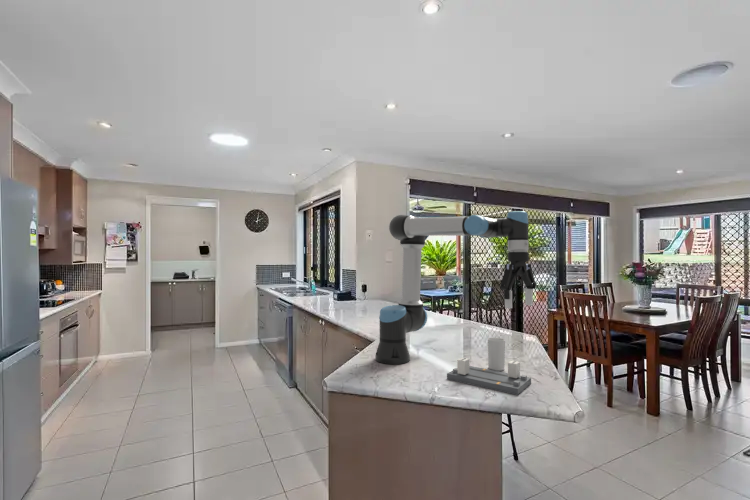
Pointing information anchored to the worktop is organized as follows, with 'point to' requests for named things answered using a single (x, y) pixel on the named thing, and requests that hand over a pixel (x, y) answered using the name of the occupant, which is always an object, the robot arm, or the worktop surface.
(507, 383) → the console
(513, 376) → the fader far
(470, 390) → the worktop surface
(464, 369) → the fader near
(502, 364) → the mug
